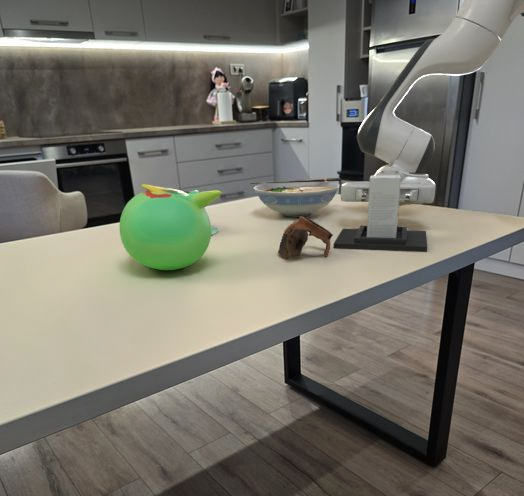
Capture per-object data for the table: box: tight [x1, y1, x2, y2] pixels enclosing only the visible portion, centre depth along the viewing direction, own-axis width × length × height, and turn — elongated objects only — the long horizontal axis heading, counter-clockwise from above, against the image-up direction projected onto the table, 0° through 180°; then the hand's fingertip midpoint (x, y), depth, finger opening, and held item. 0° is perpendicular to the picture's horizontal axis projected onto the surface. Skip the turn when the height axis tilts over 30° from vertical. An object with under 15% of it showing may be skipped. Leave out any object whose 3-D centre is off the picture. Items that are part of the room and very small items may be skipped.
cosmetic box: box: [366, 174, 401, 238], centre depth 98 cm, size 6×4×12 cm
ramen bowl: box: [249, 177, 342, 218], centre depth 128 cm, size 25×23×8 cm
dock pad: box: [333, 224, 428, 253], centre depth 100 cm, size 18×14×2 cm
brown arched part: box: [277, 216, 334, 260], centre depth 91 cm, size 12×10×8 cm
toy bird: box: [119, 183, 222, 271], centre depth 85 cm, size 18×17×15 cm
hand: (385, 197), depth 101 cm, fingers open, 8 cm apart
